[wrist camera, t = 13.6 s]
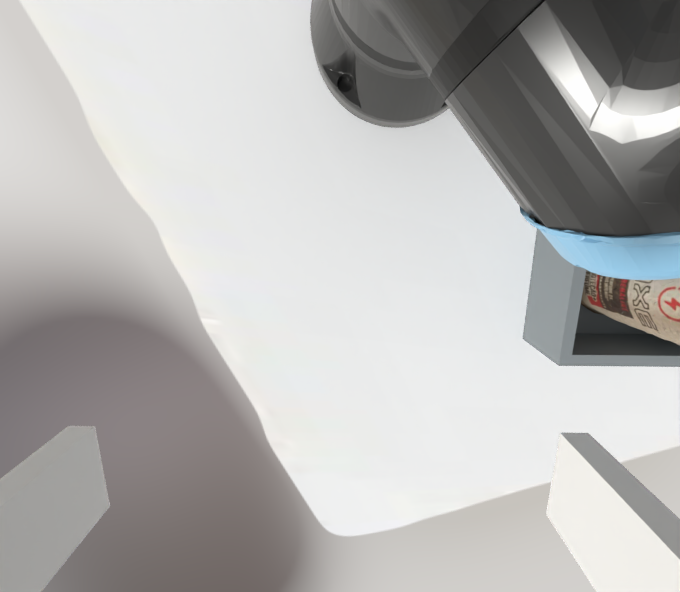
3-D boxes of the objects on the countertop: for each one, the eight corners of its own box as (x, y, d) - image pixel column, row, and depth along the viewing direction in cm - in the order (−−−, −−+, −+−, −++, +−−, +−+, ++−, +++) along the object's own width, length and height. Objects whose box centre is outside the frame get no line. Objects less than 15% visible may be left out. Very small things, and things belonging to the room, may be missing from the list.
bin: (541, 200, 34) (585, 198, 27) (691, 200, 33) (770, 198, 27) (522, 338, 37) (558, 365, 31) (658, 339, 37) (723, 367, 30)
